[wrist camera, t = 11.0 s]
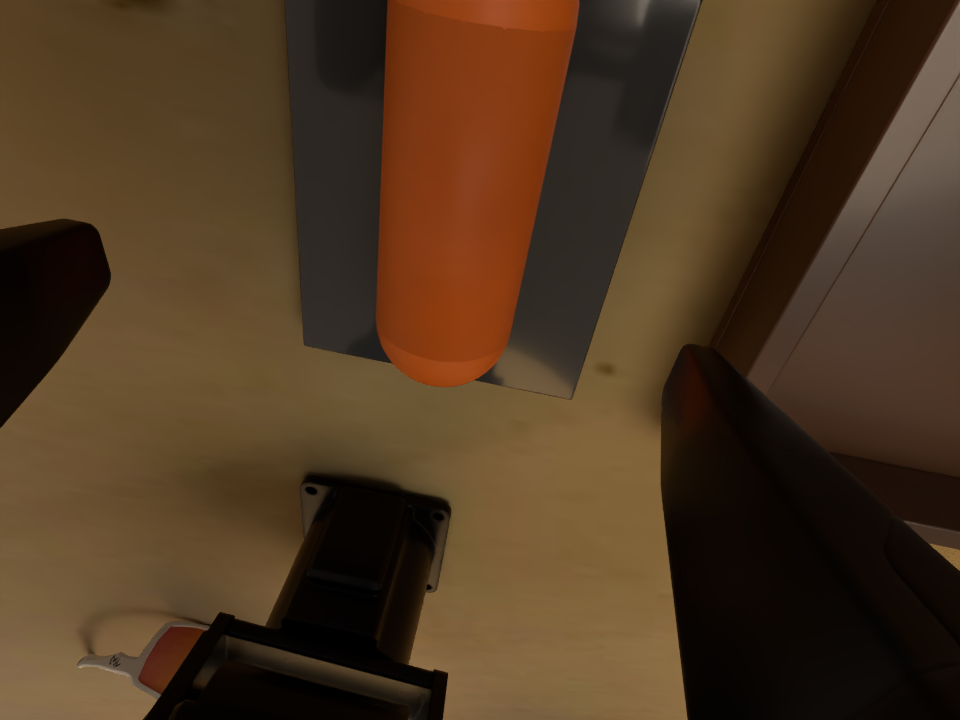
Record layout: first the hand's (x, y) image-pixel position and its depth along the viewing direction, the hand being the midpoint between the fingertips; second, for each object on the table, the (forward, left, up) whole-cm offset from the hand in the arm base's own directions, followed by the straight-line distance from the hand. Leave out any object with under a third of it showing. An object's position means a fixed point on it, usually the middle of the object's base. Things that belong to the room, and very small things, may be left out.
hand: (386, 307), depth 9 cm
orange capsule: (0, 0, -7) cm, 7 cm away
